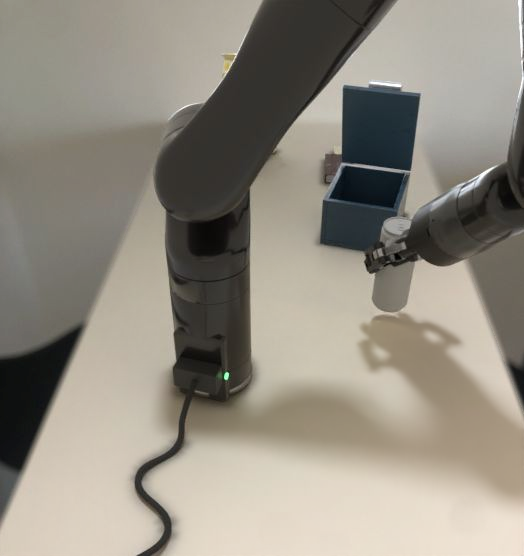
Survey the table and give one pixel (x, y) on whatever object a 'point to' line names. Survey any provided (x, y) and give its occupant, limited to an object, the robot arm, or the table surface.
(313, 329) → the table surface
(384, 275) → the beverage can
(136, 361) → the table surface
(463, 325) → the table surface
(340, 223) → the blue open box
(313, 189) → the table surface
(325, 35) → the robot arm
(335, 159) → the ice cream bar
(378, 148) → the lid
